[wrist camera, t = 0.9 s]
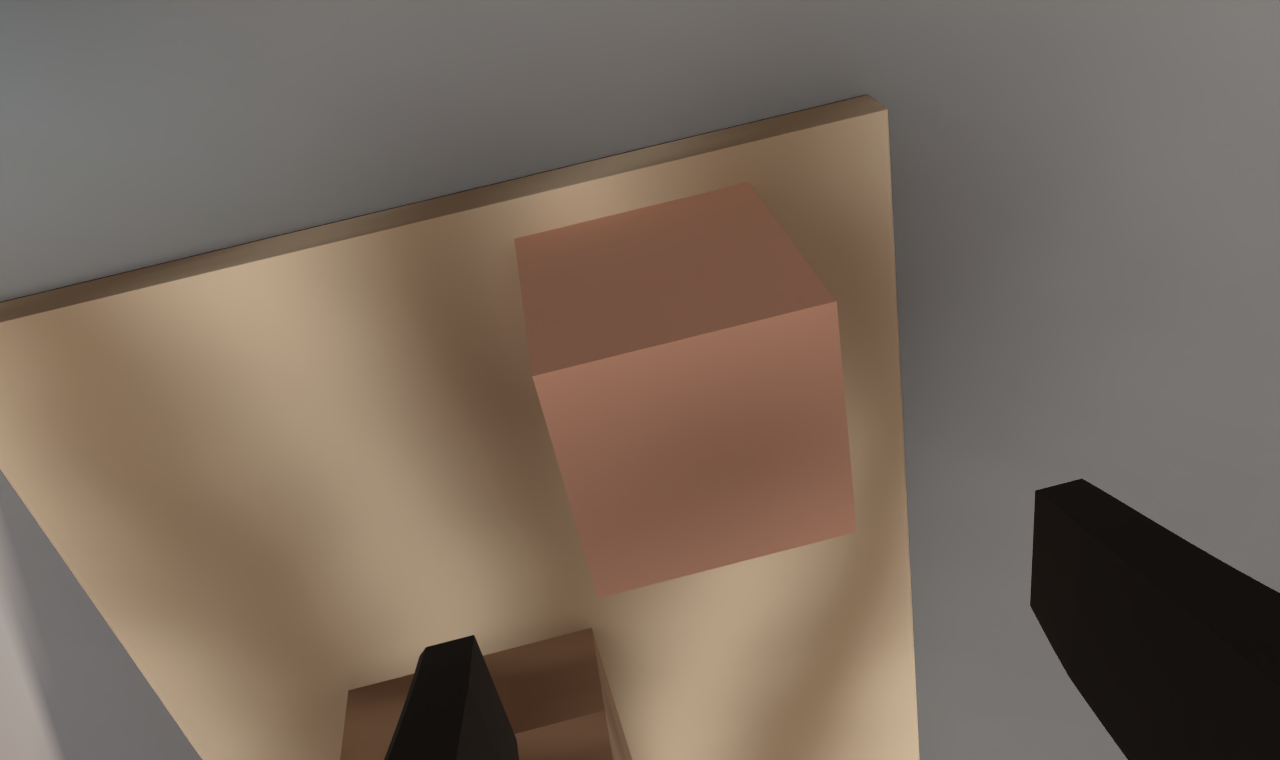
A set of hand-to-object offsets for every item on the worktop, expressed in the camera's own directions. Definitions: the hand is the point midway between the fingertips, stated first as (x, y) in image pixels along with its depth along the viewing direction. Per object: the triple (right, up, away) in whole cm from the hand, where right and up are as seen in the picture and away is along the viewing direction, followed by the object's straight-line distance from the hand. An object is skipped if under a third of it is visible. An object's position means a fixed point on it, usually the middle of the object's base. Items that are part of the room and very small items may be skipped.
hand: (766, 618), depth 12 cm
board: (-4, -3, +12) cm, 13 cm away
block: (-1, +4, +7) cm, 8 cm away
